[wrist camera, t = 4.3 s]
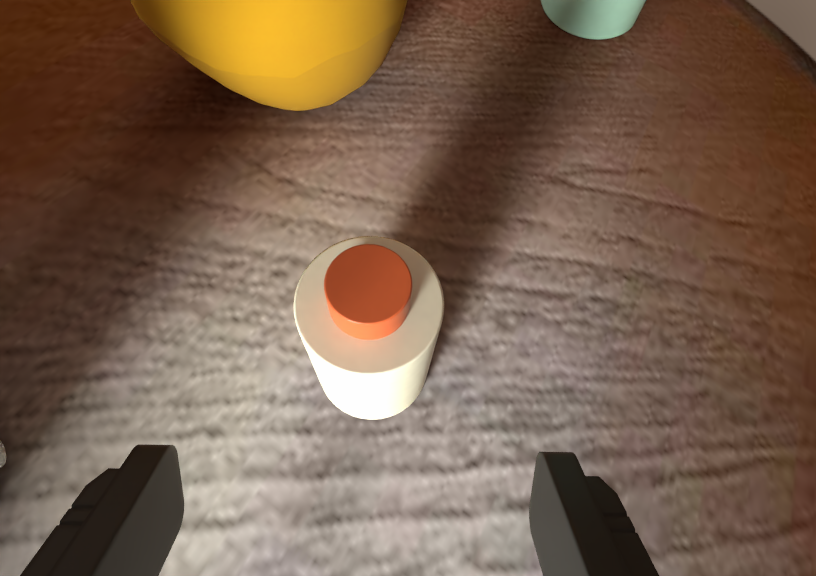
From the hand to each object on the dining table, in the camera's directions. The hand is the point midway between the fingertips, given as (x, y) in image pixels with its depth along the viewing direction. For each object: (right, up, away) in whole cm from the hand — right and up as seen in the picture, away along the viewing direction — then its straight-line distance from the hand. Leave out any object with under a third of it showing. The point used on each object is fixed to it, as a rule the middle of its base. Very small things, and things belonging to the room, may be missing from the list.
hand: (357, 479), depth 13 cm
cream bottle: (0, +1, +12) cm, 12 cm away
